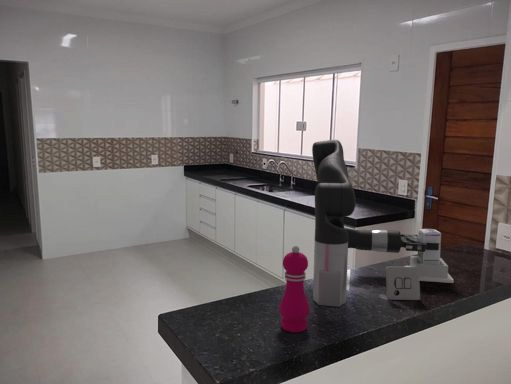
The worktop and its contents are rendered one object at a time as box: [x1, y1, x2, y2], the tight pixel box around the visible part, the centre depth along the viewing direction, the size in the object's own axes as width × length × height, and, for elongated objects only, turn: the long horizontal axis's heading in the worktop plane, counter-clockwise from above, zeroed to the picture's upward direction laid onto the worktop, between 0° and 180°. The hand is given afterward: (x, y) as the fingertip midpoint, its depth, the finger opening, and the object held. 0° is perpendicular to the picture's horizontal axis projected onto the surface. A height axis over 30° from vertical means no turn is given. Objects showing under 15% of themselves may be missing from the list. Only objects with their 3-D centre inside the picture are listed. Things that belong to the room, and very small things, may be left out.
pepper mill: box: [278, 245, 310, 333], centre depth 100 cm, size 7×7×20 cm
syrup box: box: [417, 228, 442, 265], centre depth 139 cm, size 6×6×14 cm
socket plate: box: [404, 255, 454, 284], centre depth 140 cm, size 13×13×5 cm
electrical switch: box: [384, 265, 421, 301], centre depth 120 cm, size 9×5×9 cm, turn 88°
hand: (435, 243), depth 139 cm, fingers open, 8 cm apart
